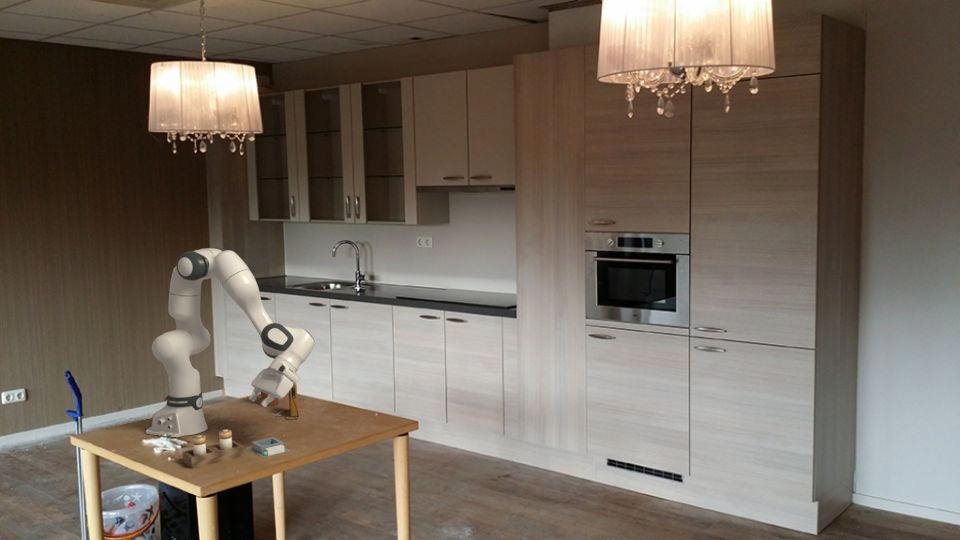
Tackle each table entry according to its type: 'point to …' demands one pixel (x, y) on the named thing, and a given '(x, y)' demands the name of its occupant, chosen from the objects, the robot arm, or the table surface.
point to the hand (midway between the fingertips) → (256, 403)
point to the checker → (268, 447)
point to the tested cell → (225, 439)
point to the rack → (213, 455)
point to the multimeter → (292, 402)
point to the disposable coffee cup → (264, 396)
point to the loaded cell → (199, 445)
